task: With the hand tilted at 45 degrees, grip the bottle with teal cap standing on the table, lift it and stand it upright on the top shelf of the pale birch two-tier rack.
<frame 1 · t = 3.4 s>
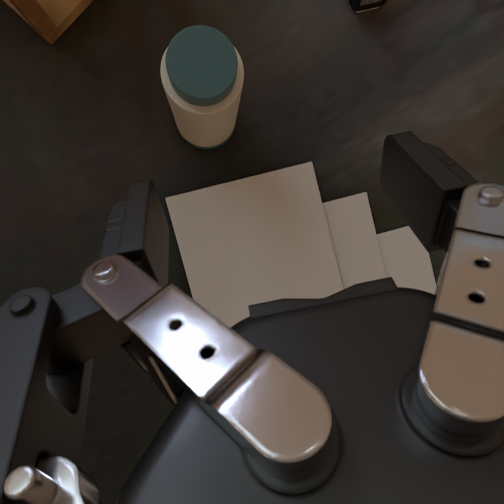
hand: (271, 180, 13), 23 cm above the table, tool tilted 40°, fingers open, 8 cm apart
bottle with teal cap: (205, 119, 35), on the table
paper stack: (318, 294, 37), on the table
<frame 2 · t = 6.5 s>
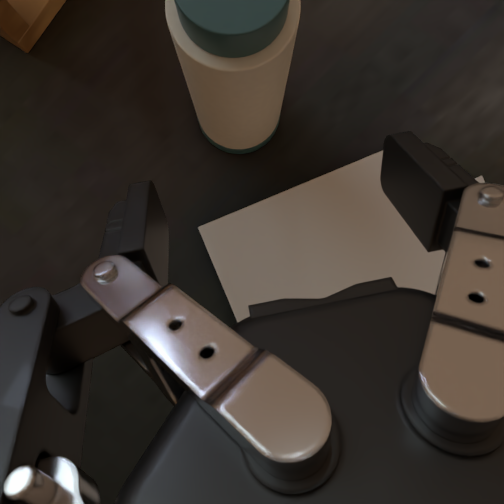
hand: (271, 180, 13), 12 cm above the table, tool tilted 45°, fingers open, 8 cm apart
bottle with teal cap: (238, 113, 26), on the table
paper stack: (437, 334, 25), on the table
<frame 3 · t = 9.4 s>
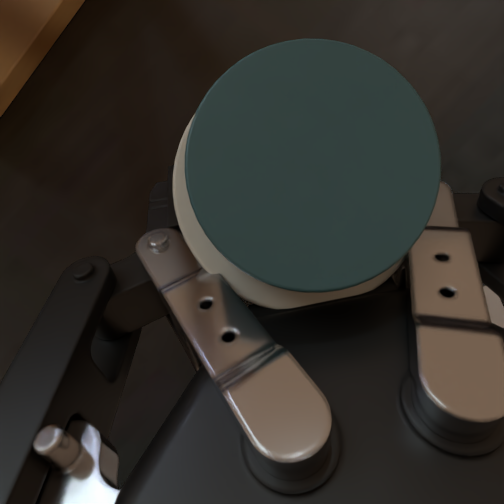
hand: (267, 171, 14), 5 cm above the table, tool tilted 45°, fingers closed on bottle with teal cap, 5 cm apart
bottle with teal cap: (270, 233, 18), on the table, touching gripper
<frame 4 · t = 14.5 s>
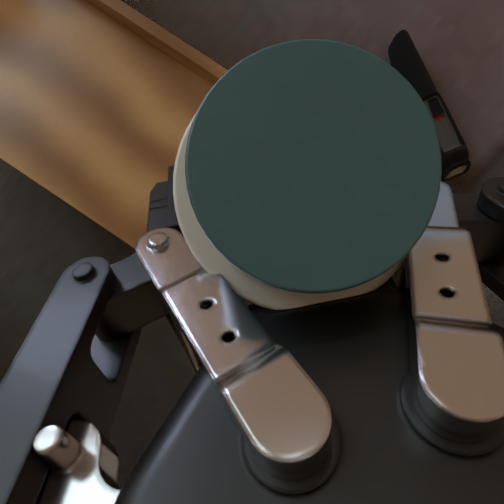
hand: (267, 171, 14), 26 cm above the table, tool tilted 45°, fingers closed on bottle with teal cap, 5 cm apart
rack: (139, 157, 40), on the table
bottle with teal cap: (270, 233, 18), point 21 cm above the table, touching gripper
electric trimmer: (419, 116, 41), on the table
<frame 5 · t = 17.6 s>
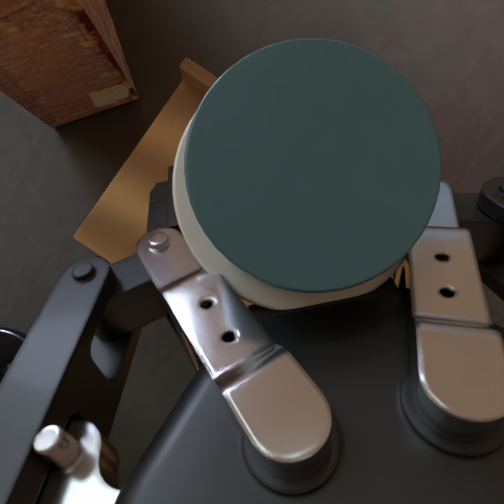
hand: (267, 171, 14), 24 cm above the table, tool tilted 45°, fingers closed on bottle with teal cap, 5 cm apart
book: (59, 1, 39), on the table
rack: (256, 251, 38), on the table
bottle with teal cap: (270, 233, 18), point 20 cm above the table, touching gripper
when the fingers open (19 cm above the table, at t = 19.7 s): bottle with teal cap stays where it is, resting on rack.
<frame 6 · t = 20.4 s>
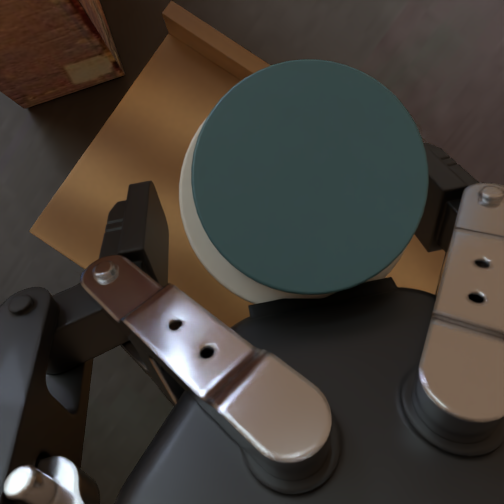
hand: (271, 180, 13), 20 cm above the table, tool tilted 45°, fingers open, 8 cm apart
rack: (260, 250, 33), on the table
bottle with teal cap: (270, 235, 19), point 14 cm above the table, touching rack
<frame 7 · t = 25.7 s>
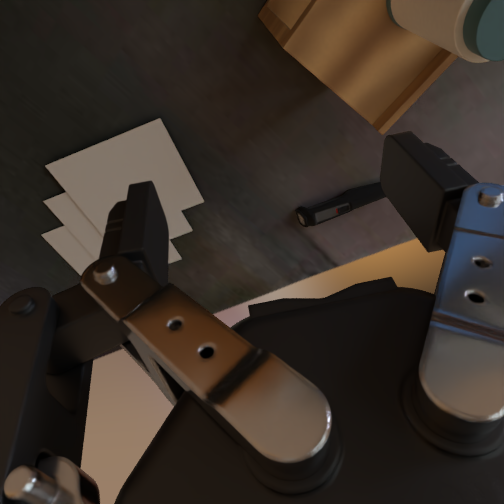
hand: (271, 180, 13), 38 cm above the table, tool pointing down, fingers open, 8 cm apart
electric trimmer: (339, 197, 62), on the table
paper stack: (122, 216, 58), on the table
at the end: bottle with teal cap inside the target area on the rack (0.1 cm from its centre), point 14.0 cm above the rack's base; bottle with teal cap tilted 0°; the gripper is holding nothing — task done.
